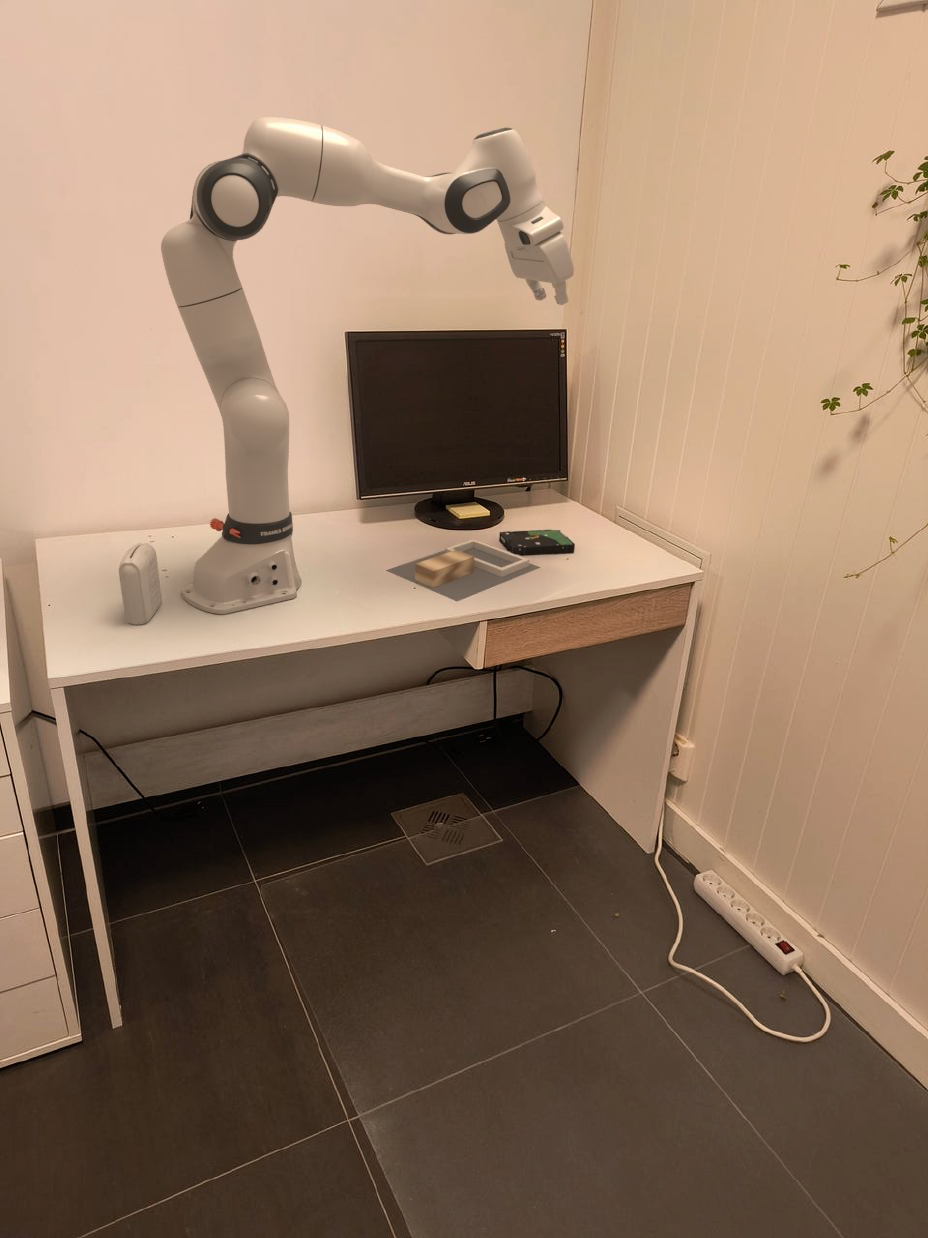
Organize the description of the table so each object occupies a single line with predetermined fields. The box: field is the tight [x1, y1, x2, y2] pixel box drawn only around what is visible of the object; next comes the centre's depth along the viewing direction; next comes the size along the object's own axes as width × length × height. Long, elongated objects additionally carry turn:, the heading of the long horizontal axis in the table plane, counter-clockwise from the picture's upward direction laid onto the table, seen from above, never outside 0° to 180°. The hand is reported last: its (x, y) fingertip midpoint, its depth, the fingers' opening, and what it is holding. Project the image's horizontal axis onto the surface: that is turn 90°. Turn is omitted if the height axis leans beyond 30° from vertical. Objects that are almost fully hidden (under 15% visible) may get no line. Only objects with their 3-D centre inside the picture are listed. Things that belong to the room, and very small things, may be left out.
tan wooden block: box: [415, 550, 474, 588], centre depth 163 cm, size 12×5×4 cm, turn 137°
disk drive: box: [498, 529, 576, 557], centre depth 182 cm, size 10×3×15 cm
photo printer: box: [118, 542, 163, 626], centre depth 140 cm, size 10×4×12 cm, turn 3°
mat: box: [385, 538, 541, 602], centre depth 167 cm, size 26×20×2 cm
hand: (552, 301), depth 151 cm, fingers open, 8 cm apart
